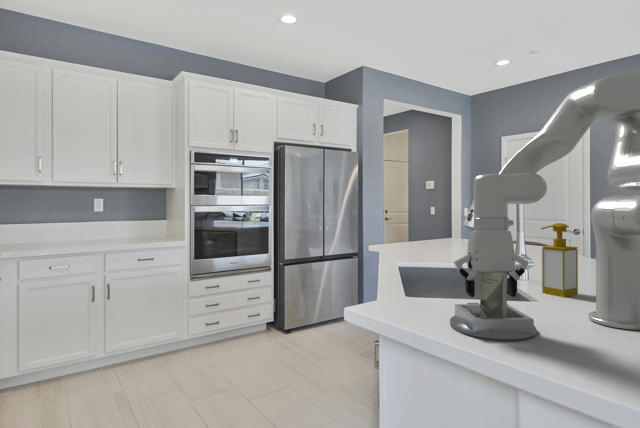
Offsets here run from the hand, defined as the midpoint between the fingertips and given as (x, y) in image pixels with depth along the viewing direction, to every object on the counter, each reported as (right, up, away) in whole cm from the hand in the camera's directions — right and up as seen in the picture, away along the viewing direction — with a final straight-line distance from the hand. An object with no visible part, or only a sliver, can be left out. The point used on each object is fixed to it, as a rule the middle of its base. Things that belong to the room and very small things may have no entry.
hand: (491, 295), depth 92 cm
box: (+1, -7, 0) cm, 7 cm away
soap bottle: (+36, -7, +33) cm, 49 cm away
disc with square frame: (0, -8, +2) cm, 8 cm away
